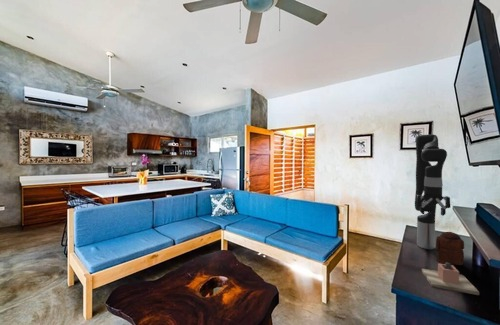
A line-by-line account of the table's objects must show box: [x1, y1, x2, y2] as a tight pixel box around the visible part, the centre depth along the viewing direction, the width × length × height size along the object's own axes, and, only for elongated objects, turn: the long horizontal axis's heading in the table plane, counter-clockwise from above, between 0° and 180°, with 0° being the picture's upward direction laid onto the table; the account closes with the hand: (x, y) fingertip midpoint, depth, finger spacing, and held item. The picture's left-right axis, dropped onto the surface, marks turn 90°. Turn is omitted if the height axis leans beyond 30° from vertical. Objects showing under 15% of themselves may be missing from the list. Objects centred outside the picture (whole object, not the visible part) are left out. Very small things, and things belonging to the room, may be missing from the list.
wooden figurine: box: [435, 231, 465, 266], centre depth 122 cm, size 12×6×18 cm, turn 77°
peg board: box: [421, 262, 480, 296], centre depth 105 cm, size 14×17×10 cm
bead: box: [437, 262, 460, 284], centre depth 105 cm, size 6×6×6 cm
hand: (432, 214), depth 116 cm, fingers open, 8 cm apart
